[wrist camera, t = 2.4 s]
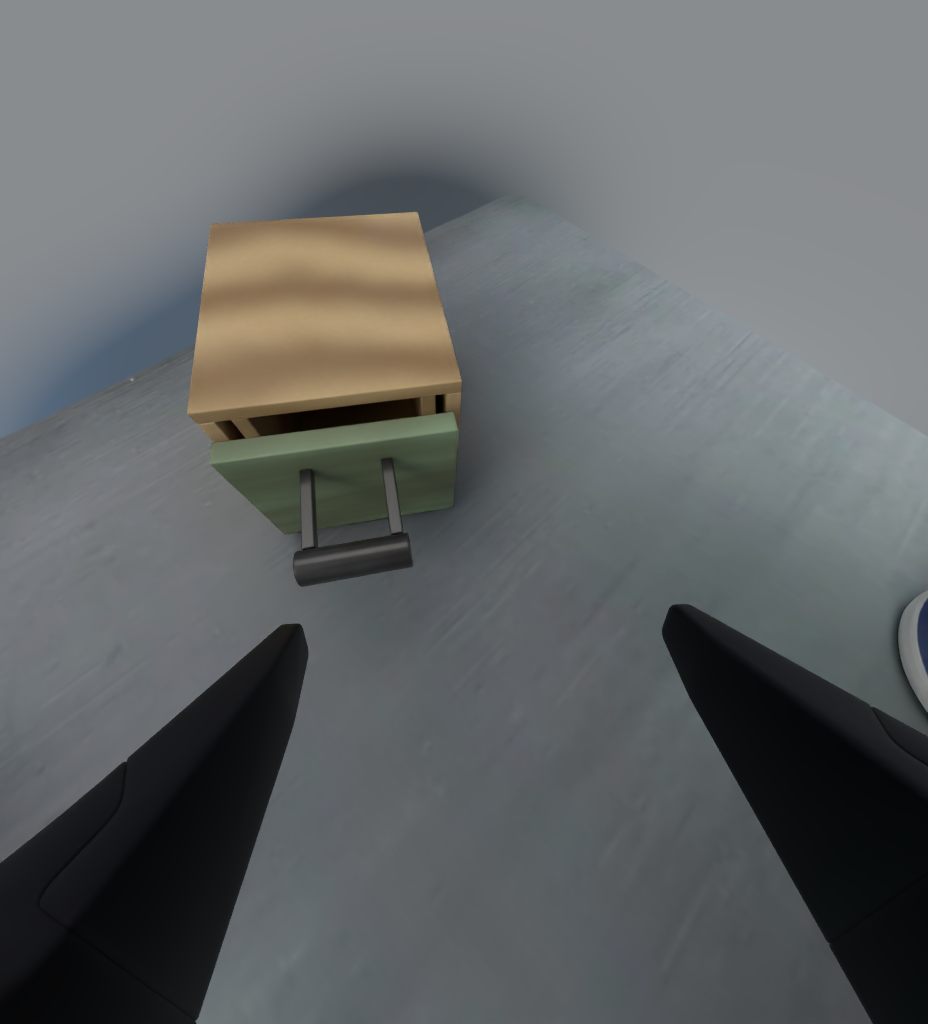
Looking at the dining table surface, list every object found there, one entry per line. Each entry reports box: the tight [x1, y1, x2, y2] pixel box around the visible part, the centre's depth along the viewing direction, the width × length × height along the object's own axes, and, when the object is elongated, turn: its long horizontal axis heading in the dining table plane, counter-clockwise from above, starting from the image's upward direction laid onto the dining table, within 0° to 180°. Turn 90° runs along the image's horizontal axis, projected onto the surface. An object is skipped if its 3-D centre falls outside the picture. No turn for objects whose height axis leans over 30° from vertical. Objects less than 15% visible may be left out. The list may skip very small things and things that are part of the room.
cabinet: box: [187, 212, 462, 485], centre depth 25 cm, size 15×13×11 cm
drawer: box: [210, 395, 458, 587], centre depth 23 cm, size 19×11×9 cm, turn 12°
